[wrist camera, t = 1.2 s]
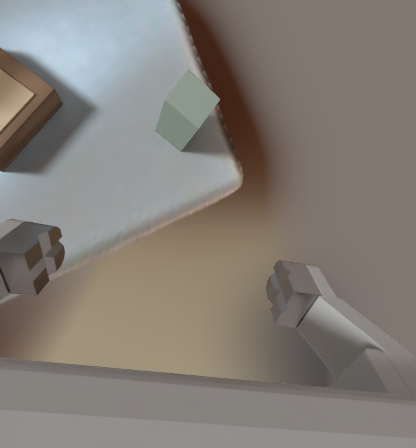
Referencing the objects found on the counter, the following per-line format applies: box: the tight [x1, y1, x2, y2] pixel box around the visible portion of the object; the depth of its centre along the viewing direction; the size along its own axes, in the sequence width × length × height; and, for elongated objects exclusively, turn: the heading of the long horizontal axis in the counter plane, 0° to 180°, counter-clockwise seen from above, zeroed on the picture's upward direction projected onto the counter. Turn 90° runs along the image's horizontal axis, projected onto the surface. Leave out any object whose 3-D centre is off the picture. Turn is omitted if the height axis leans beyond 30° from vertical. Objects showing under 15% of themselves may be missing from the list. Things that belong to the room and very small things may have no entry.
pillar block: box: [155, 69, 220, 151], centre depth 32 cm, size 5×5×10 cm
